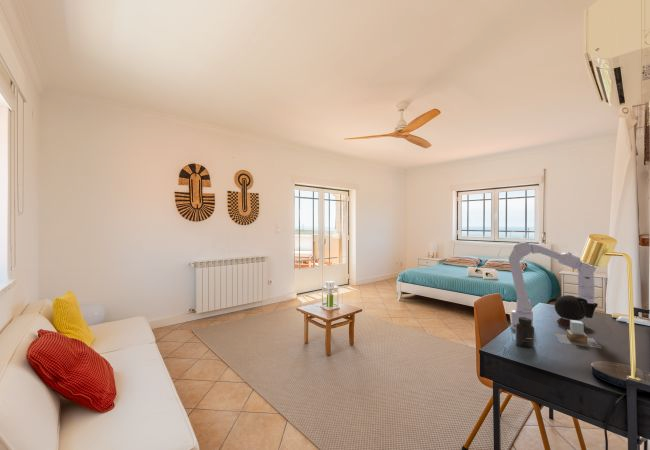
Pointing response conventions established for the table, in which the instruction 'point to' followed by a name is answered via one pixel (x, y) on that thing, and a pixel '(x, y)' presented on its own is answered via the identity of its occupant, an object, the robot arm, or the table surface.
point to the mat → (590, 343)
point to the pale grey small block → (576, 327)
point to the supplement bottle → (525, 333)
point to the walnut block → (577, 337)
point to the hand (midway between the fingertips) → (586, 315)
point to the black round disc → (568, 310)
